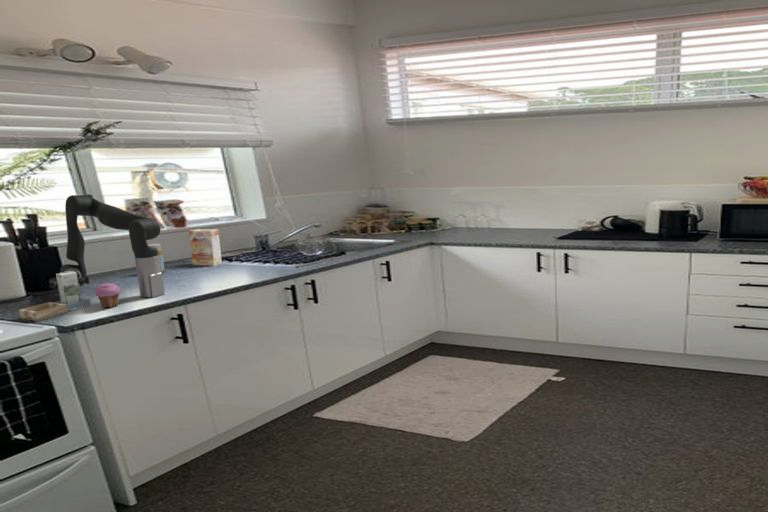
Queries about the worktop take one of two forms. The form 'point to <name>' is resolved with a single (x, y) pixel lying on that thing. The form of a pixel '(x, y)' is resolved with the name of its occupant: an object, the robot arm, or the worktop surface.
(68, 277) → the syrup box
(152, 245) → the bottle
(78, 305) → the blue-grey shallow square dish
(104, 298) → the cupcake
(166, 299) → the worktop surface
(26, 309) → the tray
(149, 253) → the robot arm
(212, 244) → the coffeecake box
